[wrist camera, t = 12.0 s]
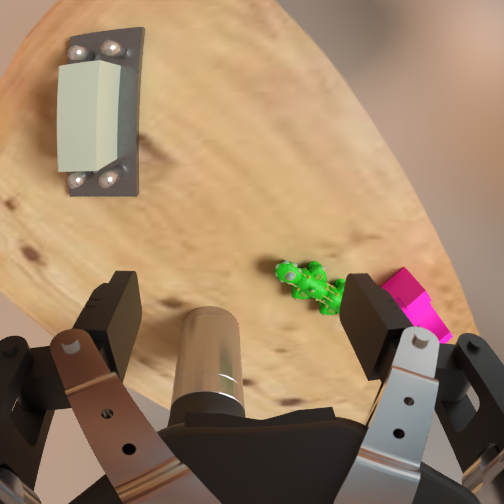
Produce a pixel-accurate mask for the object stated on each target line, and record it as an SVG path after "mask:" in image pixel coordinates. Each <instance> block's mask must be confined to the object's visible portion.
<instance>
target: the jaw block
mask: <svg viewBox="0 0 504 504" xmlns="http://www.w3.org/2000/svg"><path fill="white" fill-rule="evenodd" d="M120 70H121V66H120V65H116V64H113V63H109V62H105V61H101V60H97V61H89V62H81V63H74V64H67V65H61V66H59V76H58V94H57V157H58V172H74V171H98V170H100V169H101V168H103V167H104V166H106V165H108V164H109V163H111V162H113V161H115V160H116V159H117V127H118V100H119V84H120Z"/></svg>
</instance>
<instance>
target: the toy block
mask: <svg viewBox="0 0 504 504" xmlns="http://www.w3.org/2000/svg"><path fill="white" fill-rule="evenodd" d="M381 287H382V288H384V289H385V290H386V291H388V292H389V293H390V294H391V296H392V297H393V298H394V300H395V302H397V304H398V305H399V308H401V309H402V310H403V312H404V313H405V314H406V316H407V317H408V318H409V320H410V321H411V323H412V324H413V325H414V327H417V326H418V325H420V327H421V328H425V329H427V330H429V331H431V332H432V333H433V334H434V335H435V336H436V337H437V338H438V340H439V343H444V344H445V343H446V342H448V341H449V340H450V339H451V338H452V337H453V336H452V334H451V333H450V331H449V330H448V328H447V327H446V326H445V324H444V323H443V322H442V320H441V319H440V317H439V316H438V314H437V313H436V312H435V310H434V309H433V307H432V306H431V304H430V303H429V302H430V301H432V300H431V298H430V297H429V295H428V294H427V292H426V290H425V289H424V288H423V287H422V286H421V285H420V284H419V282H418V281H417V280H416V279H415V278H414V277H413V276H412V275H411V273H410V272H409V271H408V270H407V269H406V268H405V267H403V268H402V269H401V270H400V271H399V272H398V273H396V274H395V275H394V276H393V277H392V278H391V279H389V280H388V281H387V282H386V283H385V284H383V285H382V286H381Z"/></svg>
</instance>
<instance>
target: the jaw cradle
mask: <svg viewBox="0 0 504 504" xmlns="http://www.w3.org/2000/svg"><path fill="white" fill-rule="evenodd" d="M144 35H145V28H143V27H136V28H126V29H117V30H109V31H102V32H95V33H89V34H83V35H78V36H73V37H70V47H69V50H68V52H67V56H68V64H74V63H81V62H89V61H97V60H101V61H105V62H109V63H113V64H116V65H120V66H121V70H120V84H119V100H118V127H117V159H116V160H115V161H113V162H111V163H109V164H108V165H106V166H104V167H103V168H101V169H100V170H98V171H74V172H68V178H67V184H68V186H69V192H70V197H73V196H138V195H139V104H140V84H141V69H142V56H143V45H144Z"/></svg>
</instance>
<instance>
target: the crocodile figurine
mask: <svg viewBox="0 0 504 504" xmlns="http://www.w3.org/2000/svg"><path fill="white" fill-rule="evenodd" d="M283 261H284V260H283ZM275 268H276V269H275V273H274V274H275V276H276V277H277V278H278V279H279V281H280V282H286V283H287V284H292V289H293V290H292V297H293V298H294V299H295V300H301V299H309V298H311V297H312V298H314V299H315V301H316V302H317V301H318V300H319V301H318V302H319V305H320V306H321V307H320V313H321V314H322V315H324V316H327V315H333V314H337V313H339V309H340V304H341V300H342V295H343V291H344V286H345V280H344V279H338V280H336V281H335V287H334V285H330V284H328V283H327V282H326V280H327V277H326V268H325V267H324V266H322V265H321V264H319V263H318V262H316V261H312V262H310V263H309V265H308V269H309V270H308V269H307V267H305V268H298V267H297V264H296V263H292V262H289V261H286V260H285V261H284V262H283V263H280V264H277V265H276V267H275ZM329 286H330V287H329Z"/></svg>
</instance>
